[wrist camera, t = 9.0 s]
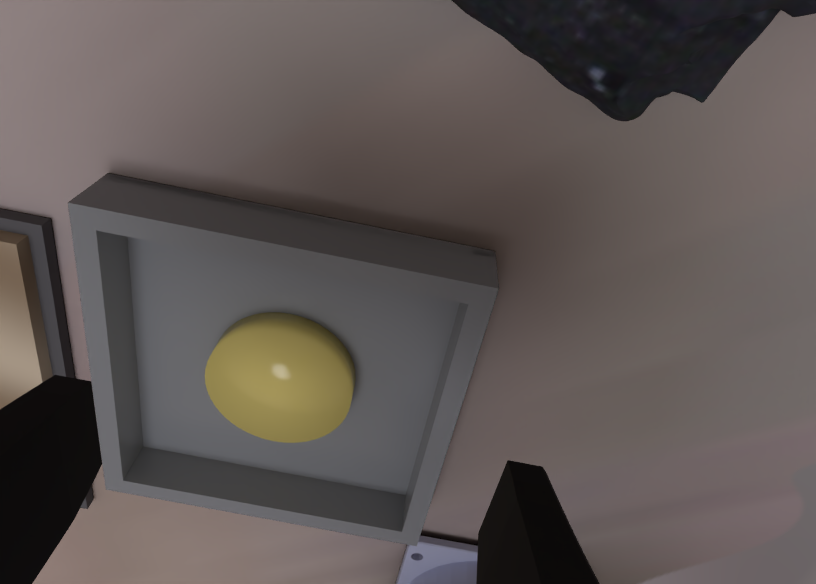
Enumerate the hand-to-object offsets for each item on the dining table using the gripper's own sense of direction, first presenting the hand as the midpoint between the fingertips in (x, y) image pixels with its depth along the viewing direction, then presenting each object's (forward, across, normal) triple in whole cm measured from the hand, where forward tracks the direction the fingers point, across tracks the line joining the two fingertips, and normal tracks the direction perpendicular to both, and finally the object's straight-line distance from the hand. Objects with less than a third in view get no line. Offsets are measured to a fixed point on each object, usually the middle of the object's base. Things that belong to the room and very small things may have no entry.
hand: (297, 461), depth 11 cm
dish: (+9, +2, +6) cm, 11 cm away
